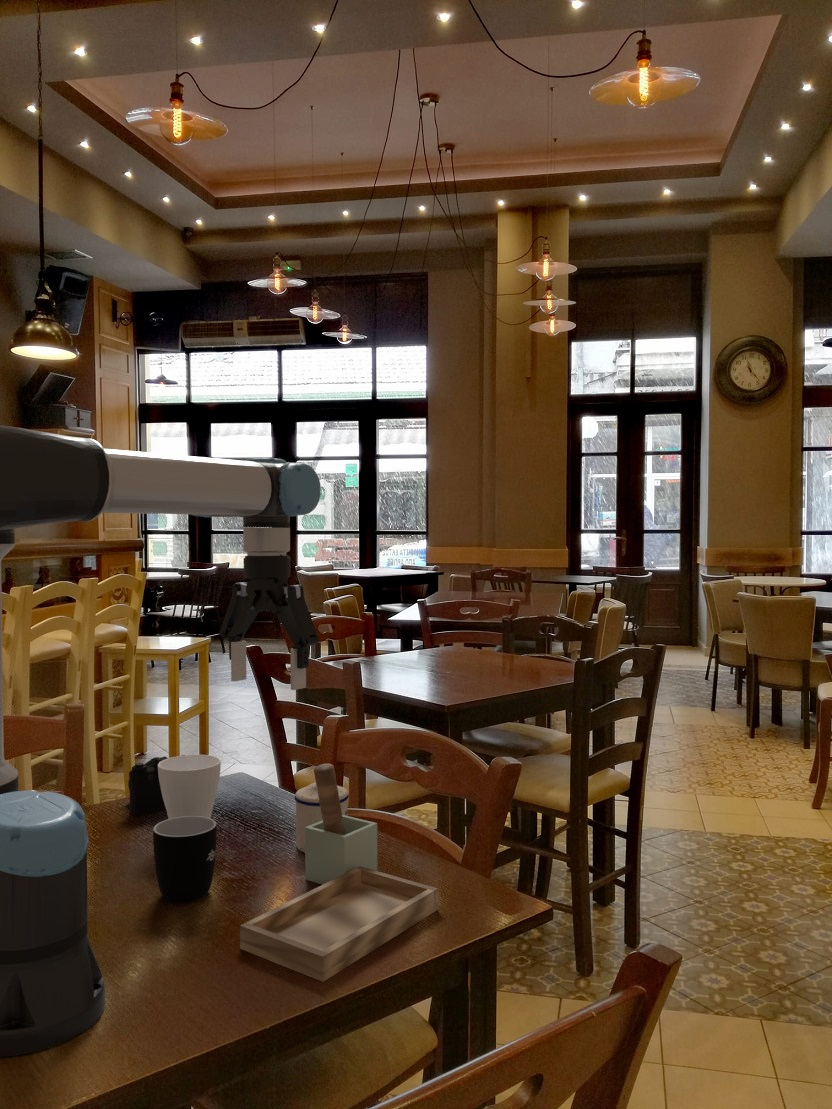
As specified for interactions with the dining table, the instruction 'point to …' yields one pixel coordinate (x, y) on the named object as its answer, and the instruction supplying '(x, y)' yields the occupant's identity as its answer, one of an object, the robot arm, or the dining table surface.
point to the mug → (185, 857)
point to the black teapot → (145, 788)
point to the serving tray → (338, 922)
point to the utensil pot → (339, 849)
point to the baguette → (329, 798)
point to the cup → (189, 784)
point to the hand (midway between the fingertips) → (267, 684)
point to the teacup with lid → (312, 810)
